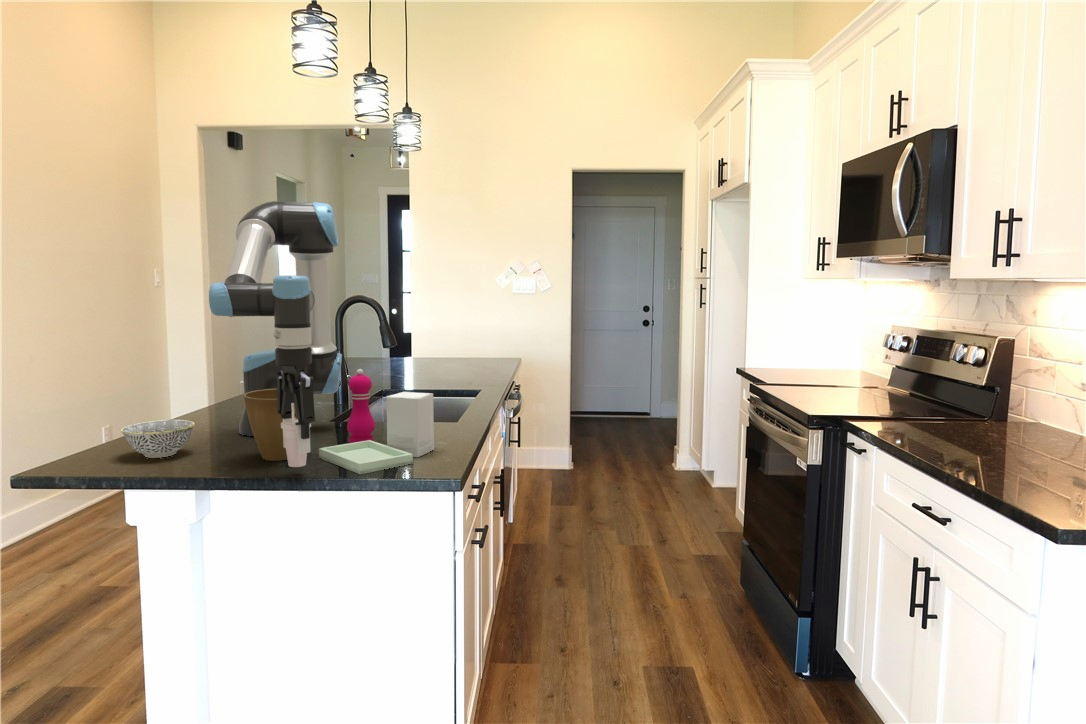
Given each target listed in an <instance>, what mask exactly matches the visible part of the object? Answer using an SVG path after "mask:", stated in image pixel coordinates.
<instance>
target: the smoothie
mask: <svg viewBox="0 0 1086 724" xmlns="http://www.w3.org/2000/svg"><path fill="white" fill-rule="evenodd" d="M291 406H292V420H288V421H284V422H282V423H281V428H282V429H283V436H284V441H285V447H286V453H287V463H288V467H291V468H301V467H305V466H306V465H307V459H308V458H307V456H308V453H303V454H297V432H296V425H295V423H297V422H298V419H296V420H295V417H294V403H291ZM311 427H312V422H311V423H310V428H311Z"/></svg>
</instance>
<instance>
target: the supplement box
mask: <svg viewBox="0 0 1086 724" xmlns="http://www.w3.org/2000/svg"><path fill="white" fill-rule="evenodd" d="M385 403H386V437H387V438H386V446H389V447H393V448H396V449H399V450H402V451H405V452H408V453H411V454H413V458H420V457H422V456H424V455H427V454H429V453H430V451H431V452H433V451H434V450H435V424H434V415H435V413H434V393H432V392H431V393H430V392H412V391H402V392H398V393H395V394H390V395H386V396H385ZM432 450H433V451H432Z"/></svg>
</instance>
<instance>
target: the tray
mask: <svg viewBox="0 0 1086 724" xmlns="http://www.w3.org/2000/svg"><path fill="white" fill-rule="evenodd" d="M318 458H319V459H320V458H321V460H323V461H325V462H328V463H331V464H334V465H336V466H337V467H338V466H339V467H341V468H343V469H345V470H348V471H350V472H353V473H355V474H358V475H365V474H369V473H373V472H379V471H385V470H389V468H390V469H394V467H395V468H399V466H400V467H405V466H409V465H408V464H410V465H414V457H413V454H411V453H408V452H405V451H402V450H399V449H396V448H393V447H389V446H387V444H383V443H380V442H377V441H374V440H373V441H371V440H367V441H361V442H355V443H343V444H337V445H331V446H324V447H320V448H318ZM404 465H405V466H404ZM384 469H385V470H384Z"/></svg>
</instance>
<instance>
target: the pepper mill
mask: <svg viewBox="0 0 1086 724" xmlns="http://www.w3.org/2000/svg"><path fill="white" fill-rule="evenodd" d="M372 385H373V384H372V380H371V378H370V377H369V376H368V375H366V374H364V370H363V369H362V368H358V369H357V370H356V374H355V375H353V376H352V377H350V379H349V381H348V388H349V391H351V393H350V399H351V400H352V408H351V413H350V416H349V418H348V420H347V425H346V430H347V432H348V433H349V434H350V436H349V438H348V440H349V441H348V442H349V443H355V442H361V441H367V440H371V441H374V435H373V432H374V431H375V429H376V424H375V423H376V422H375V420H374V417H373V415H372V413H371V410H370V407H369V399H371V395H370V394H371V393H370V390H371V389H372ZM349 443H348V444H349Z"/></svg>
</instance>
